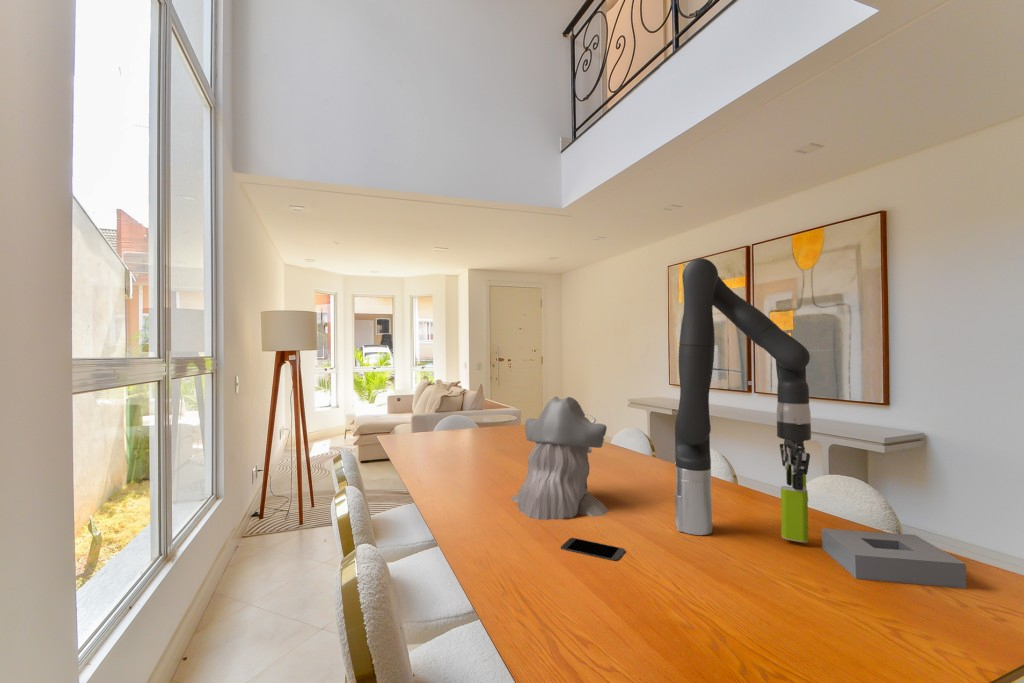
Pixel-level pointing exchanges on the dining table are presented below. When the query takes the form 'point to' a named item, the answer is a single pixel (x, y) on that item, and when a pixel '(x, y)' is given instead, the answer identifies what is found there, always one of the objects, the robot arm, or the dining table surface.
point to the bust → (560, 463)
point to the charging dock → (893, 558)
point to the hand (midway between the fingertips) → (794, 487)
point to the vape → (794, 513)
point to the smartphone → (593, 549)
